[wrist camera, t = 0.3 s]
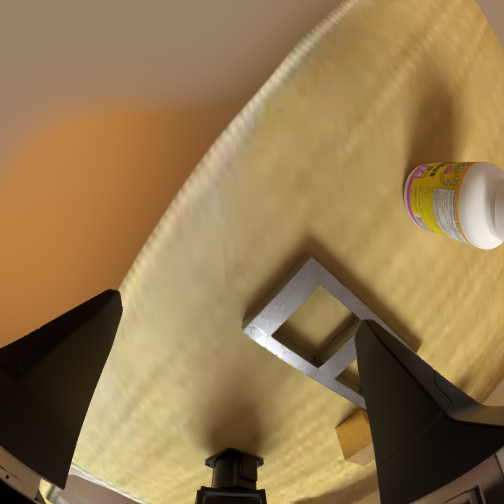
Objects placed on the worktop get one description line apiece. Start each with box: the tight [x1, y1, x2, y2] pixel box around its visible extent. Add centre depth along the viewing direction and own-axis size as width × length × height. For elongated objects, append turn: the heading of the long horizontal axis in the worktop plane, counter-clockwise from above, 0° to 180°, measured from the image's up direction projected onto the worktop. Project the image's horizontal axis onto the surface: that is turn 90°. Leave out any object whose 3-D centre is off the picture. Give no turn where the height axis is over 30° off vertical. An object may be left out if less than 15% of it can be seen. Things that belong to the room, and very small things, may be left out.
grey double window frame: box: [242, 252, 418, 410], centre depth 26 cm, size 9×20×2 cm, turn 50°
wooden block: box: [335, 409, 375, 466], centre depth 28 cm, size 4×4×6 cm
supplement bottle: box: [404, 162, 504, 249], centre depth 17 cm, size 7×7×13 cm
